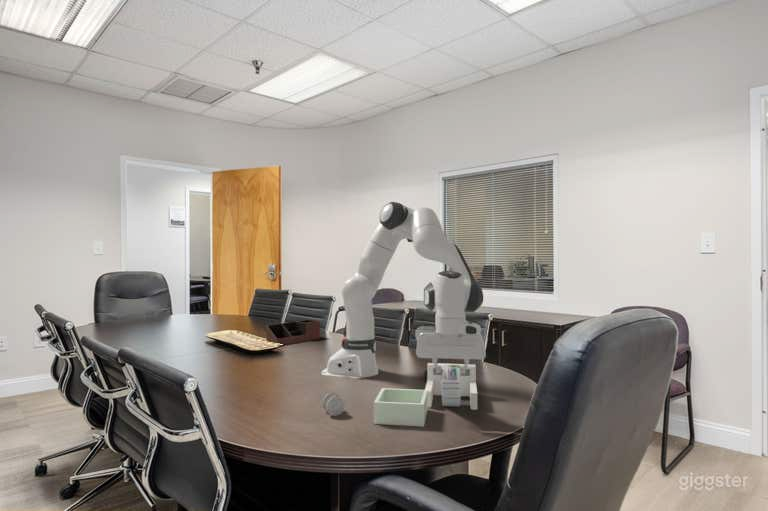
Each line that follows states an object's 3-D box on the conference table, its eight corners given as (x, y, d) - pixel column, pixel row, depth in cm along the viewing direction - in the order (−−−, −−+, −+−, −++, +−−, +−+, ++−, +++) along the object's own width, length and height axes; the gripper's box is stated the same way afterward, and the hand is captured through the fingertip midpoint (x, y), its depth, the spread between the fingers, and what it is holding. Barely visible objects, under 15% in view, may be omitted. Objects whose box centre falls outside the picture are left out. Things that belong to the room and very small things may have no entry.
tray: (373, 423, 129) (373, 402, 129) (382, 407, 143) (381, 388, 143) (423, 426, 127) (423, 404, 127) (427, 409, 141) (427, 389, 141)
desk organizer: (321, 341, 256) (321, 320, 256) (276, 349, 234) (276, 327, 234) (309, 338, 263) (308, 319, 263) (264, 346, 241) (264, 325, 241)
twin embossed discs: (326, 417, 135) (326, 396, 135) (322, 412, 139) (322, 392, 139) (344, 414, 137) (344, 394, 137) (340, 410, 141) (340, 390, 141)
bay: (424, 407, 143) (424, 375, 143) (428, 392, 159) (427, 362, 159) (477, 409, 141) (477, 376, 141) (475, 394, 156) (475, 364, 156)
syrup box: (460, 406, 143) (462, 381, 134) (441, 406, 144) (441, 381, 134) (459, 390, 148) (461, 364, 138) (441, 389, 148) (441, 364, 138)
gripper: (414, 327, 135) (414, 375, 135) (486, 328, 132) (486, 377, 132) (416, 324, 141) (416, 369, 141) (484, 325, 138) (485, 371, 138)
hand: (450, 373), depth 136 cm, fingers closed on syrup box, 6 cm apart
